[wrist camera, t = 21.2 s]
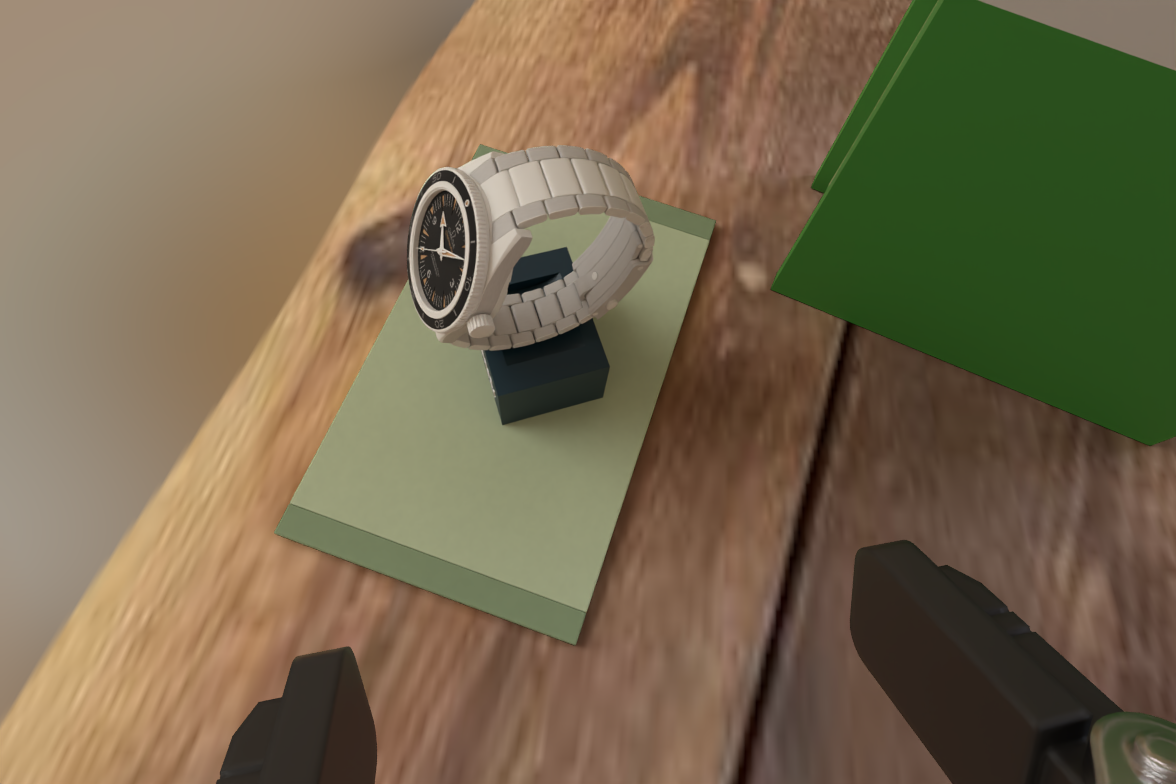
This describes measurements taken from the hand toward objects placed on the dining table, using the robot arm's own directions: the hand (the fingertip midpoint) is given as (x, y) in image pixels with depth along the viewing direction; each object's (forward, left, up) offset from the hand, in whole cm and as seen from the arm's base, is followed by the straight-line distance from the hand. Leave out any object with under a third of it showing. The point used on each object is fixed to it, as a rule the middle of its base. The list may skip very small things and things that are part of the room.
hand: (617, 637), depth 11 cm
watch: (-10, -7, -15) cm, 20 cm away
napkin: (-10, -7, -15) cm, 20 cm away
